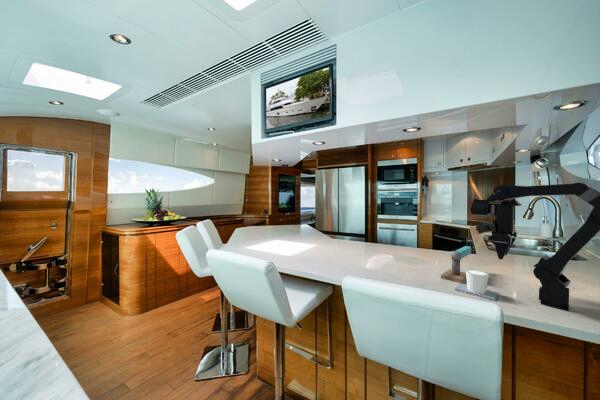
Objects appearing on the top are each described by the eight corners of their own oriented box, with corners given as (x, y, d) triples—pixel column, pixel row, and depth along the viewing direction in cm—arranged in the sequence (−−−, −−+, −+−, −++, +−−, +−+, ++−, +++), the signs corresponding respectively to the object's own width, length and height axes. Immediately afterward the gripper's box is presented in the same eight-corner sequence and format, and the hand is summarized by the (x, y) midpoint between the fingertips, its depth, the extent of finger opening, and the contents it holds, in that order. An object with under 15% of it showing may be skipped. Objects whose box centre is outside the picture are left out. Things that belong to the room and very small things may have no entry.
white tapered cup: (492, 295, 85) (492, 276, 84) (470, 293, 86) (471, 274, 86) (481, 287, 91) (482, 270, 91) (462, 286, 93) (462, 268, 93)
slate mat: (498, 294, 87) (498, 292, 87) (494, 300, 82) (494, 299, 82) (460, 284, 96) (460, 283, 96) (454, 290, 91) (454, 288, 91)
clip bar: (459, 261, 101) (459, 253, 101) (450, 259, 104) (450, 252, 104) (472, 253, 114) (472, 247, 114) (463, 252, 117) (464, 245, 117)
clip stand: (469, 276, 105) (470, 259, 105) (462, 283, 97) (462, 264, 97) (449, 272, 111) (450, 255, 111) (441, 278, 103) (441, 260, 103)
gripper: (483, 214, 102) (482, 249, 103) (472, 217, 90) (471, 256, 90) (517, 216, 94) (516, 254, 94) (510, 219, 81) (509, 263, 82)
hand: (502, 257), depth 90 cm, fingers open, 9 cm apart
